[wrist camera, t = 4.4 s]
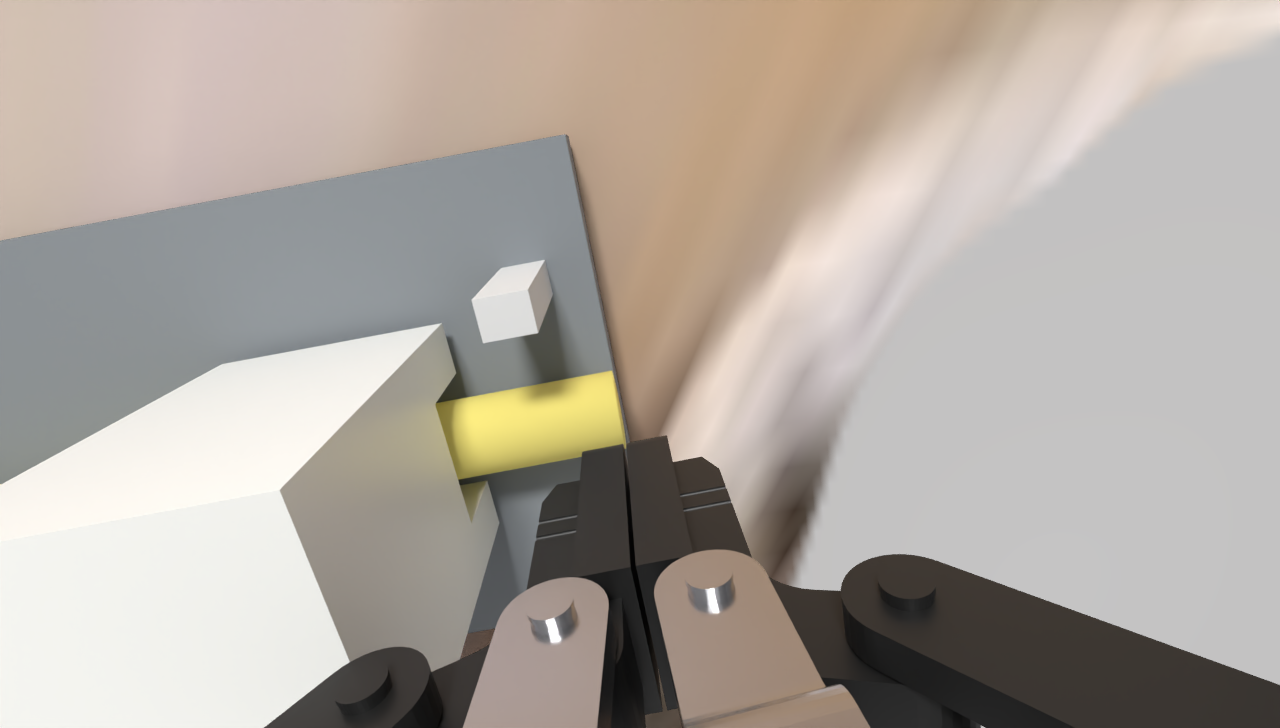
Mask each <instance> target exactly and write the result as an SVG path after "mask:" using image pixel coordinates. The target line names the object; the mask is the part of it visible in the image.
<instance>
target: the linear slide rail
mask: <svg viewBox="0 0 1280 728" xmlns="http://www.w3.org/2000/svg"><path fill="white" fill-rule="evenodd" d="M440 323H442V325H443V329H444V332H445V336H446V339H447V343H448V346H449V350H450V353H451V357H452V360H453V363H454V367H455V370H456V374H455V376H454V377H453V379H452V380H451V382H450V383H449V385H448V386H447V388H446V389H445V390H444V392H443V393H442V395H441V396H440V398H439V399H438V401H437V402H436V404H435V406H436V409H437V412H438V415H439V419H440V422H441V425H442V429H443V432H444V435H445V438H446V442H447V445H448V448H449V452H450V455H451V458H452V461H453V465H454V468H455V471H456V475H457V478H458V481H459V484H460V485H465V484H471V483H476V482H482V481H487V482H488V485H489V488H490V492H491V495H492V499H493V502H494V506H495V509H496V513H497V516H498V520H499V526H498V529H497V533H496V536H495V540H494V543H493V546H492V550H491V553H490V557H489V560H488V564H487V567H486V571H485V574H484V578H483V581H482V585H481V588H480V591H479V595H478V598H477V602H476V605H475V609H474V612H473V616H472V619H471V623H470V626H469V630H468V633H473V632H478V631H484V630H489V629H495V628H496V625H497V622H498V620H499V617H500V615H501V614H502V612H503V611H504V609H505V608H506V607H507V606H508V605H509V603H510V602H511V601H513V600H514V599H515V598H516V597H517V596H518V595H520V594H521V593H523V592H524V591H526V590H527V584H528V579H529V573H530V567H531V562H532V556H533V551H534V545H535V541H536V534H537V528H538V525H539V517H540V511H541V506H542V502H543V501H544V500H545V498H546V497H547V496H548V495H549V494H550V492H551V491H552V490H553V489H554V487H555V486H556V485H557V484H562V483H568V482H573V481H578V480H580V473H581V459H582V452H583V451H588V450H593V449H599V448H604V447H609V446H614V445H620V444H623V445H624V448H625V452H626V456H627V447H626V443H629V442H630V439H629V434H628V429H627V424H626V419H625V414H624V409H623V404H622V399H621V395H620V390H619V385H618V380H617V375H616V370H615V365H614V360H613V355H612V350H611V345H610V340H609V335H608V330H607V325H606V320H605V315H604V310H603V305H602V300H601V295H600V290H599V285H598V281H597V276H596V271H595V266H594V261H593V256H592V251H591V246H590V241H589V236H588V231H587V226H586V221H585V216H584V211H583V206H582V201H581V196H580V191H579V186H578V181H577V176H576V172H575V167H574V162H573V157H572V152H571V147H570V142H569V137H568V136H567V135H559V136H554V137H549V138H543V139H538V140H533V141H527V142H522V143H517V144H511V145H506V146H501V147H495V148H490V149H485V150H480V151H474V152H469V153H464V154H458V155H453V156H448V157H442V158H437V159H432V160H426V161H421V162H416V163H411V164H405V165H400V166H395V167H389V168H384V169H379V170H373V171H368V172H363V173H357V174H352V175H347V176H342V177H336V178H331V179H326V180H320V181H315V182H310V183H304V184H299V185H294V186H288V187H283V188H278V189H273V190H267V191H262V192H257V193H251V194H246V195H241V196H235V197H230V198H225V199H219V200H214V201H209V202H204V203H198V204H193V205H188V206H182V207H177V208H172V209H166V210H161V211H156V212H150V213H145V214H140V215H135V216H129V217H124V218H119V219H113V220H108V221H103V222H97V223H92V224H87V225H81V226H76V227H71V228H65V229H60V230H55V231H50V232H44V233H39V234H34V235H28V236H23V237H18V238H12V239H7V240H2V241H0V485H1V484H3V483H5V482H6V481H8V480H10V479H12V478H14V477H16V476H18V475H19V474H21V473H23V472H25V471H27V470H29V469H30V468H32V467H34V466H36V465H38V464H40V463H41V462H43V461H45V460H47V459H49V458H51V457H52V456H54V455H56V454H58V453H60V452H62V451H63V450H65V449H67V448H69V447H71V446H73V445H74V444H76V443H78V442H80V441H82V440H84V439H85V438H87V437H89V436H91V435H93V434H95V433H96V432H98V431H100V430H102V429H104V428H106V427H107V426H109V425H111V424H113V423H115V422H117V421H118V420H120V419H122V418H124V417H126V416H128V415H129V414H131V413H133V412H135V411H137V410H139V409H140V408H142V407H144V406H146V405H148V404H150V403H151V402H153V401H155V400H157V399H159V398H161V397H162V396H164V395H166V394H168V393H170V392H172V391H173V390H175V389H177V388H179V387H181V386H183V385H184V384H186V383H188V382H190V381H192V380H194V379H195V378H197V377H199V376H201V375H203V374H205V373H206V372H208V371H210V370H212V369H214V368H216V367H218V366H219V365H221V364H226V363H231V362H236V361H242V360H247V359H252V358H258V357H263V356H268V355H274V354H279V353H285V352H290V351H295V350H301V349H306V348H311V347H317V346H322V345H327V344H333V343H338V342H343V341H349V340H354V339H360V338H365V337H370V336H376V335H381V334H386V333H392V332H397V331H402V330H408V329H413V328H419V327H424V326H429V325H435V324H440ZM627 461H628V459H627Z"/></svg>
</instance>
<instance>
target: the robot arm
mask: <svg viewBox="0 0 1280 728" xmlns="http://www.w3.org/2000/svg"><path fill="white" fill-rule="evenodd" d="M626 447H627V456H626V452H625V448H624V445H623V444H620V445H614V446H609V447H604V448H599V449H593V450H588V451H583V452H582V459H581V473H580V480H578V481H573V482H568V483H562V484H557V485H556V486H555V487H554V489H553V490H552V491H551V492H550V494H549V495H548V496H547V497H546V498H545V500H544V501H543V502H542V506H541V511H540V517H539V525H538V528H537V534H536V541H535V545H534V551H533V556H532V562H531V567H530V573H529V579H528V584H527V590H526V591H524V592H523V593H521V594H520V595H518V596H517V597H516V598H515V599H514V600H513V601H511V602H510V603H509V605H508V606H507V607H506V608H505V609H504V611H503V612H502V614H501V615H500V617H499V620H498V622H497V625H496V628H495V631H494V634H493V637H492V640H491V643H490V645H488V646H486V647H485V648H483V649H481V650H479V651H477V652H475V653H473V654H471V655H469V656H467V657H465V658H462V659H460V660H458V661H455V662H453V663H451V664H448V665H446V666H444V667H442V668H439V669H437V670H435V671H432V672H431V669H430V666H429V663H428V661H427V659H426V657H425V656H424V655H423V654H422V653H421V652H419V651H418V650H415V649H413V648H409V647H390V648H384V649H380V650H376V651H373V652H370V653H368V654H365V655H363V656H361V657H359V658H357V659H355V660H353V661H351V662H349V663H348V664H346V665H344V666H343V667H341V668H340V669H339V670H337V671H336V672H334V673H333V674H332V675H330V676H329V677H328V678H327V679H325V680H324V681H323V682H322V683H320V684H319V685H318V686H316V687H315V688H314V689H313V690H311V691H310V692H309V693H307V694H306V695H305V696H304V697H302V698H301V699H300V700H299V701H297V702H296V703H295V704H293V705H292V706H291V707H290V708H288V709H287V710H286V711H285V712H283V713H282V714H281V715H279V716H278V717H277V718H276V719H274V720H273V721H272V722H270V723H269V724H268V725H267V726H265V727H264V728H646V724H645V715H646V714H651V713H657V712H662V701H661V692H660V682H659V674H660V678H661V683H662V688H663V692H664V697H665V701H666V706H667V710H671V709H676V708H678V710H679V715H680V720H681V725H682V728H981V725H982V726H984V727H985V728H1280V685H1277V684H1275V683H1272V682H1270V681H1267V680H1264V679H1261V678H1258V677H1256V676H1253V675H1250V674H1247V673H1245V672H1242V671H1239V670H1237V669H1234V668H1231V667H1228V666H1225V665H1222V664H1220V663H1217V662H1214V661H1212V660H1209V659H1206V658H1203V657H1201V656H1198V655H1195V654H1192V653H1190V652H1187V651H1184V650H1181V649H1179V648H1176V647H1173V646H1170V645H1167V644H1165V643H1162V642H1159V641H1156V640H1154V639H1151V638H1148V637H1145V636H1142V635H1140V634H1137V633H1134V632H1132V631H1129V630H1126V629H1123V628H1121V627H1118V626H1115V625H1112V624H1110V623H1107V622H1104V621H1101V620H1098V619H1096V618H1093V617H1090V616H1087V615H1085V614H1082V613H1079V612H1076V611H1074V610H1071V609H1068V608H1065V607H1062V606H1060V605H1057V604H1054V603H1051V602H1049V601H1046V600H1043V599H1040V598H1038V597H1035V596H1032V595H1029V594H1027V593H1024V592H1021V591H1018V590H1015V589H1013V588H1010V587H1007V586H1005V585H1002V584H999V583H996V582H994V581H991V580H988V579H985V578H983V577H980V576H977V575H974V574H972V573H969V572H966V571H963V570H960V569H958V568H955V567H952V566H949V565H947V564H943V563H941V562H938V561H935V560H932V559H929V558H925V557H920V556H915V555H905V554H897V555H896V554H893V555H884V556H879V557H875V558H871V559H868V560H866V561H863V562H862V563H860V564H858V565H856V566H855V567H854V568H852V569H851V570H850V571H849V572H848V574H847V575H846V576H845V578H844V580H843V582H842V586H841V591H828V590H809V589H801V588H796V587H792V586H788V585H785V584H782V583H780V582H778V581H775V580H773V579H772V578H770V577H768V575H767V573H766V571H765V570H764V568H763V567H762V566H761V565H760V564H759V563H758V562H757V561H756V560H754V559H753V558H752V557H751V554H750V551H749V548H748V546H747V543H746V540H745V538H744V535H743V532H742V529H741V527H740V524H739V521H738V519H737V516H736V513H735V510H734V508H733V505H732V503H731V500H730V497H729V494H728V491H727V489H726V487H725V483H724V481H723V478H722V475H721V473H720V470H719V468H717V467H716V466H714V465H713V464H712V463H710V462H709V461H707V460H706V459H704V458H703V457H698V458H693V459H688V460H682V461H677V462H673V461H672V457H671V452H670V448H669V444H668V439H667V435H666V436H661V437H656V438H650V439H645V440H640V441H635V442H629V443H626ZM627 459H628V461H627ZM658 669H659V673H658Z"/></svg>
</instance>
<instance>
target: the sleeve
mask: <svg viewBox="0 0 1280 728" xmlns="http://www.w3.org/2000/svg"><path fill="white" fill-rule="evenodd" d="M455 374H456V370H455V367H454V363H453V360H452V357H451V353H450V350H449V346H448V343H447V339H446V336H445V332H444V329H443V325H442V323H440V324H435V325H429V326H424V327H419V328H413V329H408V330H402V331H397V332H392V333H386V334H381V335H376V336H370V337H365V338H360V339H354V340H349V341H343V342H338V343H333V344H327V345H322V346H317V347H311V348H306V349H301V350H295V351H290V352H285V353H279V354H274V355H268V356H263V357H258V358H252V359H247V360H242V361H236V362H231V363H226V364H221V365H219V366H218V367H216V368H214V369H212V370H210V371H208V372H206V373H205V374H203V375H201V376H199V377H197V378H195V379H194V380H192V381H190V382H188V383H186V384H184V385H183V386H181V387H179V388H177V389H175V390H173V391H172V392H170V393H168V394H166V395H164V396H162V397H161V398H159V399H157V400H155V401H153V402H151V403H150V404H148V405H146V406H144V407H142V408H140V409H139V410H137V411H135V412H133V413H131V414H129V415H128V416H126V417H124V418H122V419H120V420H118V421H117V422H115V423H113V424H111V425H109V426H107V427H106V428H104V429H102V430H100V431H98V432H96V433H95V434H93V435H91V436H89V437H87V438H85V439H84V440H82V441H80V442H78V443H76V444H74V445H73V446H71V447H69V448H67V449H65V450H63V451H62V452H60V453H58V454H56V455H54V456H52V457H51V458H49V459H47V460H45V461H43V462H41V463H40V464H38V465H36V466H34V467H32V468H30V469H29V470H27V471H25V472H23V473H21V474H19V475H18V476H16V477H14V478H12V479H10V480H8V481H6V482H5V483H3V484H1V485H0V728H264V727H265V726H267V725H268V724H269V723H270V722H272V721H273V720H274V719H276V718H277V717H278V716H279V715H281V714H282V713H283V712H285V711H286V710H287V709H288V708H290V707H291V706H292V705H293V704H295V703H296V702H297V701H299V700H300V699H301V698H302V697H304V696H305V695H306V694H307V693H309V692H310V691H311V690H313V689H314V688H315V687H316V686H318V685H319V684H320V683H322V682H323V681H324V680H325V679H327V678H328V677H329V676H330V675H332V674H333V673H334V672H336V671H337V670H339V669H340V668H341V667H343V666H344V665H346V664H348V663H349V662H351V661H353V660H355V659H357V658H359V657H361V656H363V655H365V654H368V653H370V652H373V651H376V650H380V649H384V648H390V647H409V648H413V649H415V650H418V651H419V652H421V653H422V654H423V655H424V656H425V657H426V659H427V661H428V663H429V666H430V669H431V672H432V671H435V670H437V669H439V668H442V667H444V666H446V665H448V664H451V663H453V662H455V661H458V660H460V657H461V654H462V650H463V647H464V643H465V640H466V636H467V633H468V630H469V626H470V623H471V619H472V616H473V612H474V609H475V605H476V602H477V598H478V595H479V591H480V588H481V585H482V581H483V578H484V574H485V571H486V567H487V564H488V560H489V557H490V553H491V550H492V546H493V543H494V540H495V536H496V533H497V529H498V526H499V520H498V516H497V513H496V509H495V506H494V502H493V499H492V495H491V492H490V488H489V485H488V482H487V481H482V482H476V483H471V484H465V485H460V484H459V481H458V478H457V475H456V471H455V468H454V465H453V461H452V458H451V455H450V452H449V448H448V445H447V442H446V438H445V435H444V432H443V429H442V425H441V422H440V419H439V415H438V412H437V409H436V406H435V404H436V402H437V401H438V399H439V398H440V396H441V395H442V393H443V392H444V390H445V389H446V388H447V386H448V385H449V383H450V382H451V380H452V379H453V377H454V376H455Z"/></svg>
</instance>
